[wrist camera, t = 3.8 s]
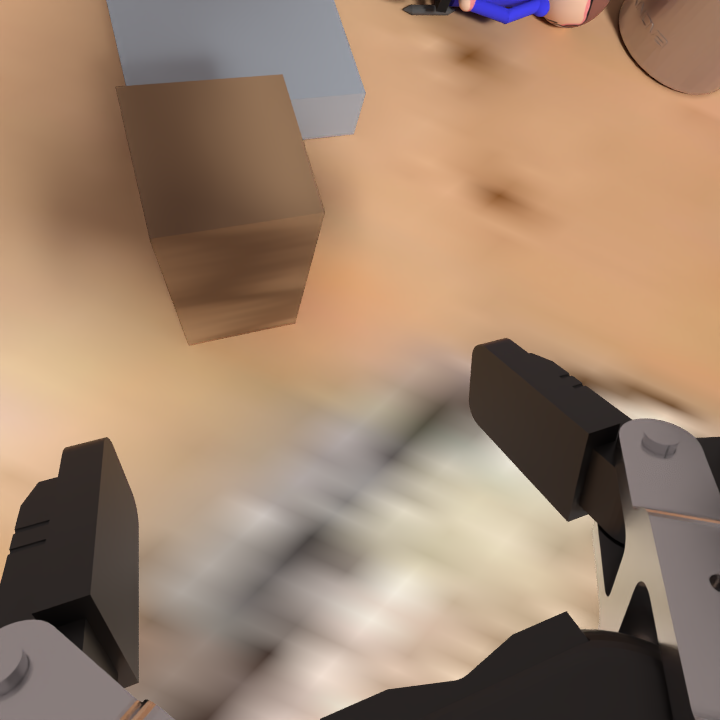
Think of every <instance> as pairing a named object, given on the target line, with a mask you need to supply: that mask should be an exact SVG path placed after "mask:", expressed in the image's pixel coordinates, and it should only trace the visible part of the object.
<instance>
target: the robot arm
mask: <svg viewBox="0 0 720 720" xmlns="http://www.w3.org/2000/svg"><path fill="white" fill-rule="evenodd" d="M619 27H620V33H621V35H622V38H623V41H624V43H625V45H626V47H627V49H628V50H629V52H630V54H631V55H632V57H633V58H634V59H635V60H636V62H637V63H638V64H639V65H640V66H641V67H642V68H643V69H644V70H645V71H646V72H647V73H648V74H649V75H650V76H652V77H653V78H655V79H656V80H657V81H659V82H660V83H662V84H664V85H666V86H668V87H670V88H672V89H674V90H677V91H680V92H683V93H687V94H695V95H702V94H710V93H712V92H714V91H717V90H719V89H720V0H625V1H624V2H623V4H622V7H621V9H620V13H619ZM469 405H470V410H471V413H472V415H473V418H474V420H475V421H476V423H477V424H478V425H479V426H480V427H481V428H482V430H483V431H484V432H485V433H486V434H487V435H488V436H489V437H490V438H491V439H492V440H493V441H494V443H495V444H496V445H497V446H498V447H499V448H500V449H501V450H502V451H503V452H504V453H505V454H506V456H507V457H508V458H509V459H510V460H511V461H512V462H513V463H514V464H515V465H516V466H517V467H518V469H519V470H520V471H521V472H522V473H523V474H524V475H525V476H526V477H527V478H528V479H529V480H530V482H531V483H532V484H533V485H534V486H535V487H536V488H537V489H538V490H539V491H540V492H541V493H542V494H543V496H544V497H545V498H546V499H547V500H548V501H549V502H550V503H551V504H552V505H553V506H554V507H555V509H556V510H557V511H558V512H559V513H560V514H561V515H562V516H563V517H564V518H565V519H566V520H567V522H569V521H571V520H574V519H577V518H579V517H582V516H585V515H587V514H589V515H590V516H591V517H592V518H593V519H594V520H595V521H594V525H593V528H592V537H593V547H594V557H595V567H596V577H597V587H598V597H599V609H600V615H599V627H598V630H586V629H583V630H580V628H579V627H578V626H577V624H576V623H575V622H574V621H573V619H572V618H571V617H570V615H569V614H568V613H567V611H566V612H564V613H561V614H559V615H557V616H555V617H552V618H550V619H548V620H545V621H543V622H541V623H539V624H536V625H534V626H532V627H529V628H527V629H525V630H522V631H520V632H518V633H516V634H513V635H512V636H511V637H509V638H508V639H507V640H506V641H505V642H504V643H503V644H502V645H500V646H499V647H498V648H497V649H496V650H495V651H494V652H493V653H491V654H490V655H489V656H488V657H487V658H486V659H485V660H484V661H482V662H481V663H480V664H479V665H478V666H477V667H476V668H475V669H473V670H472V671H471V672H470V673H469V674H468V675H466V676H465V677H464V678H462V679H459V680H455V681H449V682H441V683H434V684H426V685H418V686H411V687H403V688H396V689H388V690H385V691H383V692H381V693H378V694H376V695H374V696H372V697H369V698H367V699H365V700H362V701H360V702H358V703H356V704H353V705H351V706H349V707H346V708H344V709H342V710H340V711H337V712H335V713H333V714H330V715H328V716H326V717H324V718H321V719H320V720H720V437H707V438H695V437H694V436H693V435H691V434H690V433H689V432H687V431H686V430H684V429H682V428H681V427H678V426H676V425H674V424H671V423H668V422H665V421H661V420H656V419H635V420H632V419H630V418H629V417H628V416H626V415H625V414H624V413H622V412H621V411H619V410H618V409H617V408H615V407H614V406H613V405H611V404H610V403H609V402H607V401H606V400H605V399H603V398H602V397H600V396H599V395H598V394H596V393H595V392H594V391H592V390H591V389H590V388H588V387H587V386H583V385H582V383H581V382H580V381H579V380H577V379H576V378H575V377H573V376H569V373H568V372H566V371H565V370H564V369H562V368H561V367H560V366H558V365H557V364H555V363H554V362H553V361H550V360H548V359H545V358H543V357H540V356H538V355H535V354H532V353H527V352H526V351H525V350H523V349H522V348H521V347H520V346H518V345H517V344H516V343H514V342H513V341H512V340H510V339H507V338H504V339H500V340H496V341H492V342H488V343H484V344H480V345H477V346H476V347H475V348H474V350H473V353H472V364H471V377H470V391H469ZM9 550H10V554H9V555H8V556H7V560H6V564H5V568H4V572H3V575H2V579H1V583H0V720H175V719H173V718H172V717H171V716H170V715H169V714H168V713H166V712H165V711H164V710H163V709H162V708H160V707H159V706H158V705H156V704H155V703H153V702H152V701H150V700H144V701H143V702H140V701H139V700H137V699H136V698H135V697H133V696H132V695H131V694H130V693H129V692H128V691H127V690H125V689H124V688H126V687H128V686H131V685H134V684H136V683H139V524H138V514H137V508H136V504H135V500H134V497H133V494H132V491H131V489H130V486H129V484H128V481H127V479H126V476H125V474H124V471H123V469H122V466H121V464H120V461H119V459H118V457H117V454H116V452H115V449H114V447H113V444H112V442H111V441H110V439H109V438H107V437H106V438H102V439H98V440H94V441H90V442H86V443H82V444H78V445H74V446H70V447H66V448H65V449H64V450H63V453H62V458H61V464H60V469H59V474H58V477H56V478H52V479H49V480H45V481H41V482H39V483H38V484H37V485H36V486H35V488H34V489H33V490H32V492H31V493H30V494H29V496H28V497H27V498H26V500H25V501H24V502H23V504H22V505H21V507H20V511H19V514H18V518H17V522H16V526H15V534H13V537H12V541H11V545H10V549H9Z"/></svg>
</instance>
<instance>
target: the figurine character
mask: <svg viewBox="0 0 720 720" xmlns="http://www.w3.org/2000/svg"><path fill="white" fill-rule="evenodd" d="M609 1H610V0H435V5H409V6H408V7H406V8H404V9H403V10H404V11H406V12H408V13H409V14H411V15H449V14H450V13H452V12H454V11H456V10H455V9H453V8H451V7H450V6H454V7H460V8H461V9H462V10H463V11H470V10H471V12H473V13H476V14H479V15H482V16H485V17H488V18H490V19H493V20H496V21H499V22H502V23H504V24H507V23H509V22H512V21H515V20H518V19H520V18H523V17H526V16H529V15H531V14H534V15H535V16H537V17H544V18H545V19H546V20H547V21H549V22H550V23H552V24H553V25H556V26H559V27H564V28H572V27H577V26H580V25H583V24H585V23H587V22H589V21H591V20H592V19H594V18H595V17H596V16H597V15H598V14H599V13H600V12H602V10H603V9H604V8H605V7H606V6H607V4H608V3H609ZM505 7H511V8H509V9H508V8H505Z"/></svg>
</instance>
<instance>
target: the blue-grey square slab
mask: <svg viewBox="0 0 720 720" xmlns="http://www.w3.org/2000/svg"><path fill="white" fill-rule="evenodd" d="M106 1H107V5H108V10H109V14H110V18H111V23H112V27H113V31H114V36H115V40H116V44H117V49H118V53H119V57H120V62H121V66H122V70H123V75H124V79H125V83H126V86H131V85H144V84H158V83H171V82H185V81H198V80H212V79H225V78H239V77H252V76H266V75H279V74H283V77H284V80H285V83H286V87H287V90H288V93H289V96H290V100H291V103H292V106H293V109H294V113H295V116H296V119H297V123H298V126H299V129H300V132H301V136H302V139H303V140H305V139H314V138H323V137H332V136H341V135H350V134H354V131H355V128H356V124H357V121H358V118H359V114H360V111H361V107H362V104H363V100H364V97H365V94H366V93H365V90H364V87H363V84H362V81H361V78H360V75H359V72H358V69H357V66H356V63H355V61H354V58H353V55H352V52H351V49H350V46H349V43H348V40H347V37H346V34H345V31H344V28H343V25H342V23H341V20H340V17H339V14H338V11H337V8H336V5H335V2H334V0H106Z"/></svg>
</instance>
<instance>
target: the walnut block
mask: <svg viewBox="0 0 720 720" xmlns="http://www.w3.org/2000/svg"><path fill="white" fill-rule="evenodd" d="M116 91H117V96H118V100H119V104H120V109H121V113H122V118H123V122H124V127H125V131H126V136H127V140H128V144H129V149H130V153H131V158H132V162H133V167H134V171H135V176H136V180H137V185H138V189H139V193H140V198H141V202H142V207H143V211H144V216H145V220H146V225H147V229H148V233H149V238H150V241H151V244H152V247H153V249H154V252H155V255H156V257H157V260H158V263H159V266H160V268H161V271H162V274H163V276H164V279H165V282H166V285H167V287H168V290H169V293H170V296H171V298H172V301H173V304H174V306H175V309H176V312H177V315H178V317H179V320H180V323H181V325H182V328H183V331H184V334H185V336H186V339H187V342H188V345H194V344H199V343H204V342H208V341H213V340H218V339H223V338H227V337H232V336H237V335H242V334H246V333H251V332H256V331H260V330H265V329H270V328H275V327H279V326H284V325H289V324H294V323H295V322H296V318H297V314H298V310H299V307H300V303H301V299H302V296H303V292H304V288H305V284H306V281H307V277H308V273H309V270H310V266H311V262H312V258H313V255H314V251H315V247H316V244H317V240H318V236H319V232H320V229H321V225H322V221H323V218H324V214H325V211H324V208H323V204H322V201H321V198H320V195H319V191H318V188H317V185H316V182H315V178H314V175H313V172H312V168H311V165H310V162H309V159H308V155H307V152H306V149H305V145H304V142H303V139H302V136H301V132H300V129H299V126H298V123H297V119H296V116H295V113H294V109H293V106H292V103H291V100H290V96H289V93H288V90H287V87H286V83H285V80H284V77H283V74H279V75H266V76H252V77H239V78H225V79H212V80H198V81H185V82H171V83H158V84H144V85H131V86H117V87H116Z"/></svg>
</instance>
